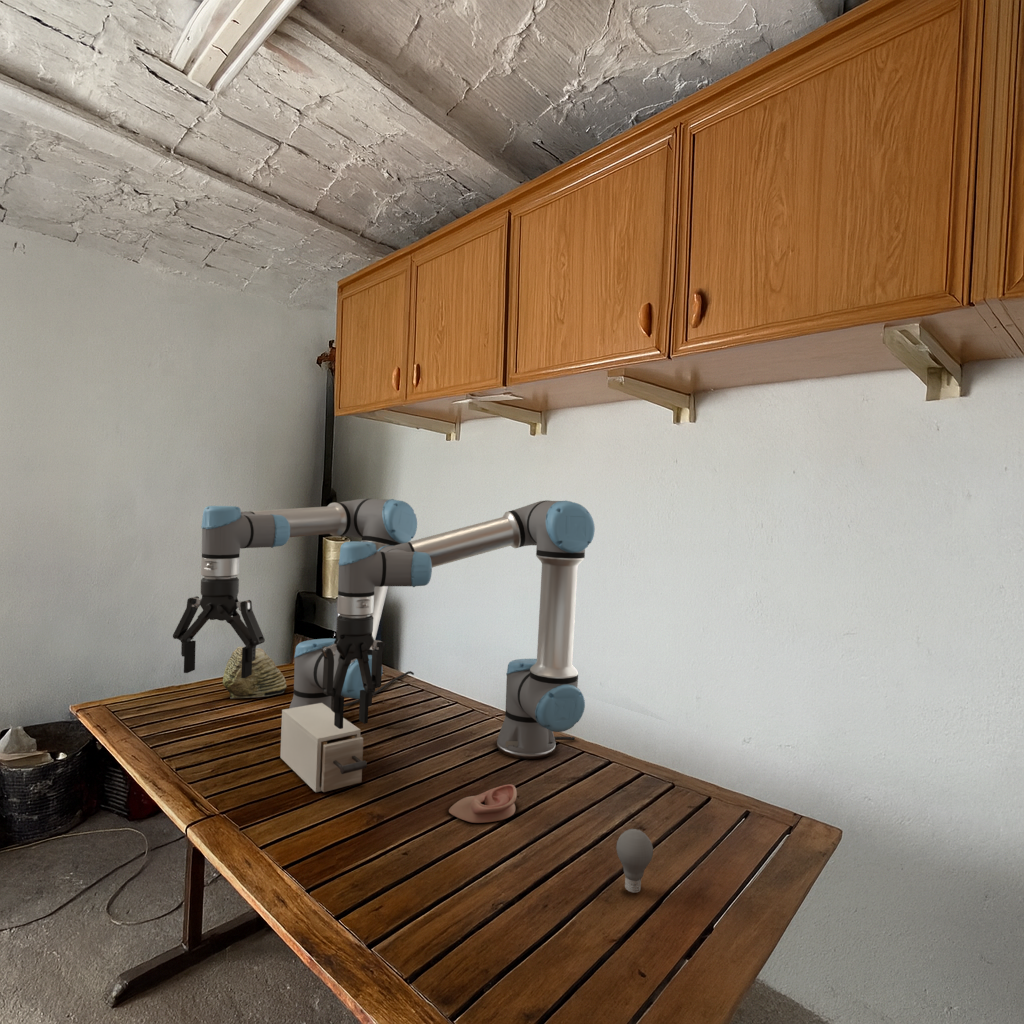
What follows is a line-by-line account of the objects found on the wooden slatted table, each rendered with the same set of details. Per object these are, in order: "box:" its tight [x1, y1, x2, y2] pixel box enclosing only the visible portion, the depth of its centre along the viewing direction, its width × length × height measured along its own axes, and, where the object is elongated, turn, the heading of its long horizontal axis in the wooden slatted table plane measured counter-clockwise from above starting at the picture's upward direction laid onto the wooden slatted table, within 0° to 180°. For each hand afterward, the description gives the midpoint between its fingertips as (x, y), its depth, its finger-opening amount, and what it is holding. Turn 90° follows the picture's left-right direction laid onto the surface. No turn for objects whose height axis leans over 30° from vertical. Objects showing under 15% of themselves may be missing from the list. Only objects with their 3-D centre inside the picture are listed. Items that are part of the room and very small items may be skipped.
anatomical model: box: [448, 783, 518, 824], centre depth 131 cm, size 13×4×12 cm
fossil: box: [222, 646, 288, 699], centre depth 198 cm, size 9×18×15 cm, turn 132°
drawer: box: [320, 735, 368, 793], centre depth 142 cm, size 26×9×10 cm, turn 39°
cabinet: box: [279, 703, 361, 793], centre depth 147 cm, size 22×10×12 cm, turn 39°
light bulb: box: [615, 828, 654, 894], centre depth 106 cm, size 6×6×10 cm
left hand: (217, 674), depth 138 cm, fingers open, 13 cm apart
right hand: (351, 723), depth 134 cm, fingers open, 5 cm apart
